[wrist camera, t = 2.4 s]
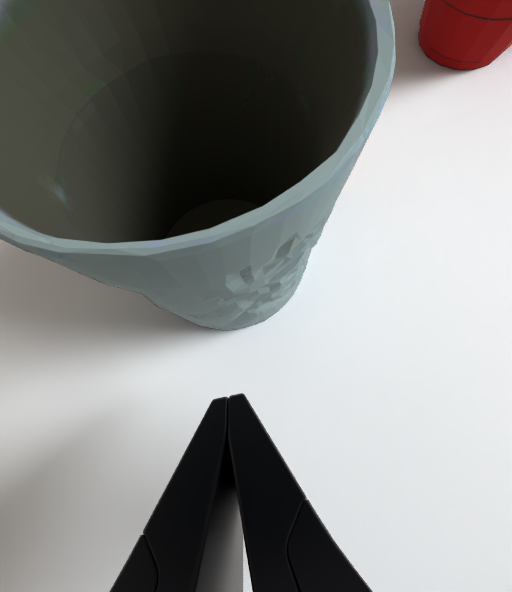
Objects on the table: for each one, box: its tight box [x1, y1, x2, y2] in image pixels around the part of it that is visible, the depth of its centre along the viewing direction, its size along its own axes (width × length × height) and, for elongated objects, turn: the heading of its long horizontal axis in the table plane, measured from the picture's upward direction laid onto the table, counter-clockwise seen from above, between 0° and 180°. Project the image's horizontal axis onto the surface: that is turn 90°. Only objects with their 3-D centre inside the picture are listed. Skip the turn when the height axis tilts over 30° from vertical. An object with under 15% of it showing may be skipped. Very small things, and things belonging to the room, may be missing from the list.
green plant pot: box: [0, 0, 396, 330], centre depth 12 cm, size 10×10×12 cm
